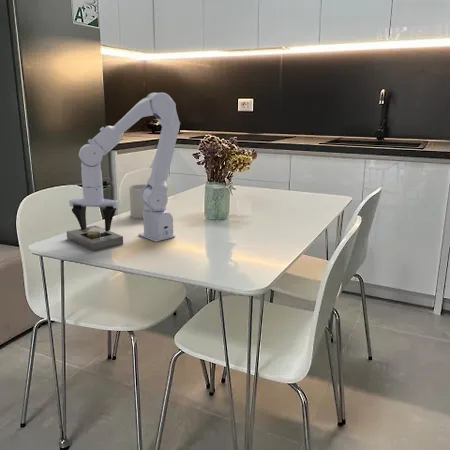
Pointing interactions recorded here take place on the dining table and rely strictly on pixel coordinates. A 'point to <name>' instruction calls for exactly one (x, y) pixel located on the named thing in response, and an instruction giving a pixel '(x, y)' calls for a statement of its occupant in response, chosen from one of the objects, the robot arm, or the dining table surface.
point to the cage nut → (96, 233)
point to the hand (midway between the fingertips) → (95, 230)
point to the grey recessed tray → (94, 244)
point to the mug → (136, 201)
